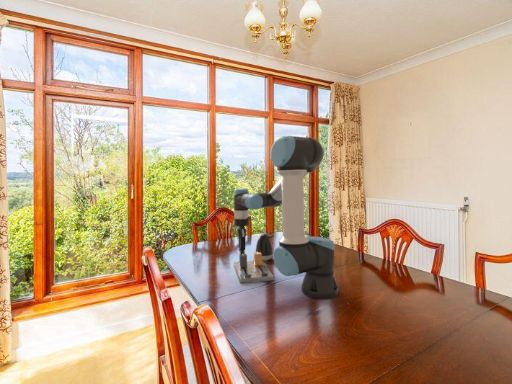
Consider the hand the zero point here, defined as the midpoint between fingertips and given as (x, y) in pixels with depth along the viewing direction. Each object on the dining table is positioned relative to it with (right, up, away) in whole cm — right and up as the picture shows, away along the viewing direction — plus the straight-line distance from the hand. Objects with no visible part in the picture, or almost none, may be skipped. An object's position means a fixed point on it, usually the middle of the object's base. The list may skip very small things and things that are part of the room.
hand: (242, 261), depth 150 cm
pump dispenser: (+12, -2, +14) cm, 19 cm away
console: (+6, -4, -7) cm, 10 cm away
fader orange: (+8, -1, -1) cm, 8 cm away
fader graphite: (+1, -1, -4) cm, 4 cm away
